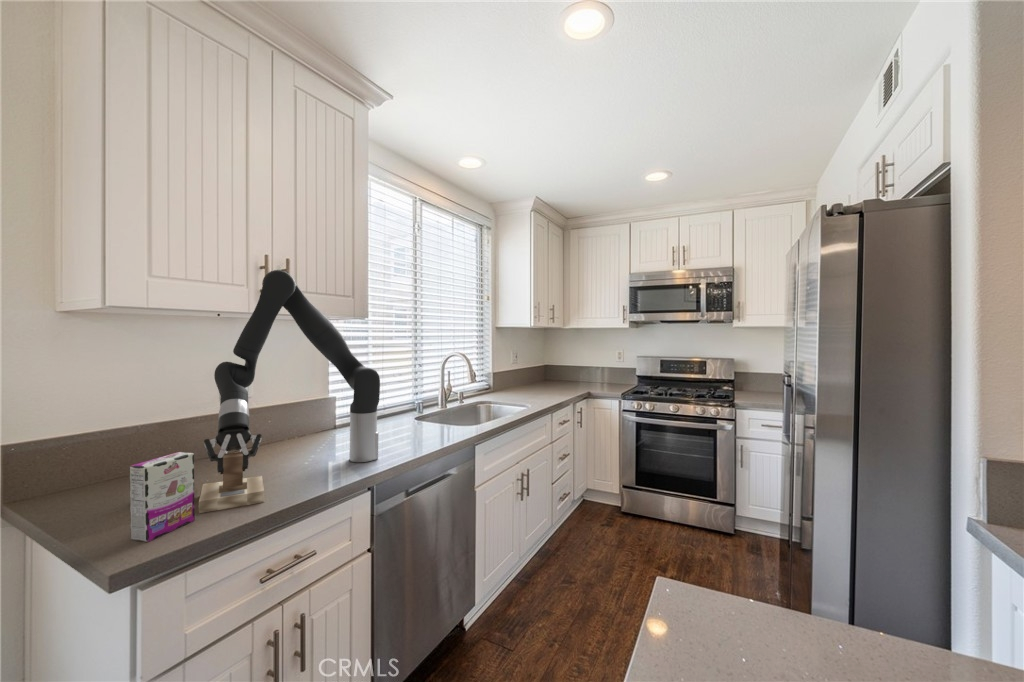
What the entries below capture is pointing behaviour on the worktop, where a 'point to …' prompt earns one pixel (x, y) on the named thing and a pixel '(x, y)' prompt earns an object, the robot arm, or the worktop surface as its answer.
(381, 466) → the worktop surface
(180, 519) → the candy bar box
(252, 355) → the robot arm
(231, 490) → the socket plate
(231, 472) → the walnut post
